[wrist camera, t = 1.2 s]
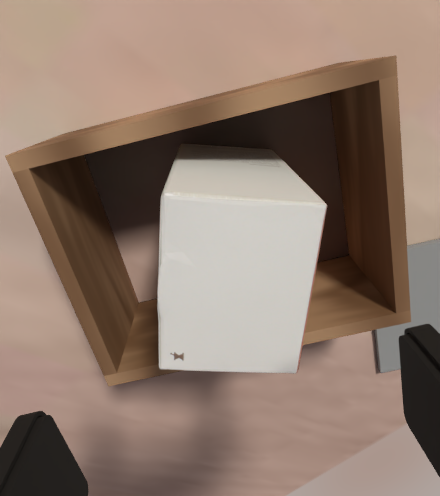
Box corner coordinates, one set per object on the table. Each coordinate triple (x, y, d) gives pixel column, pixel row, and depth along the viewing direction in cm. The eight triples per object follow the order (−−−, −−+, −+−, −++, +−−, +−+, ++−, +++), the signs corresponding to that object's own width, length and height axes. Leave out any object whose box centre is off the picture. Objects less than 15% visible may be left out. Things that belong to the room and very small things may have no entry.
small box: (261, 257, 30) (299, 379, 18) (176, 253, 29) (154, 373, 17) (275, 146, 26) (331, 202, 14) (179, 140, 26) (155, 192, 14)
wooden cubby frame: (339, 62, 24) (396, 55, 17) (361, 262, 30) (411, 321, 23) (63, 134, 26) (5, 155, 18) (132, 313, 31) (108, 386, 24)
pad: (503, 224, 29) (508, 226, 29) (497, 344, 33) (501, 348, 33) (367, 254, 30) (369, 257, 29) (378, 368, 34) (380, 372, 33)
